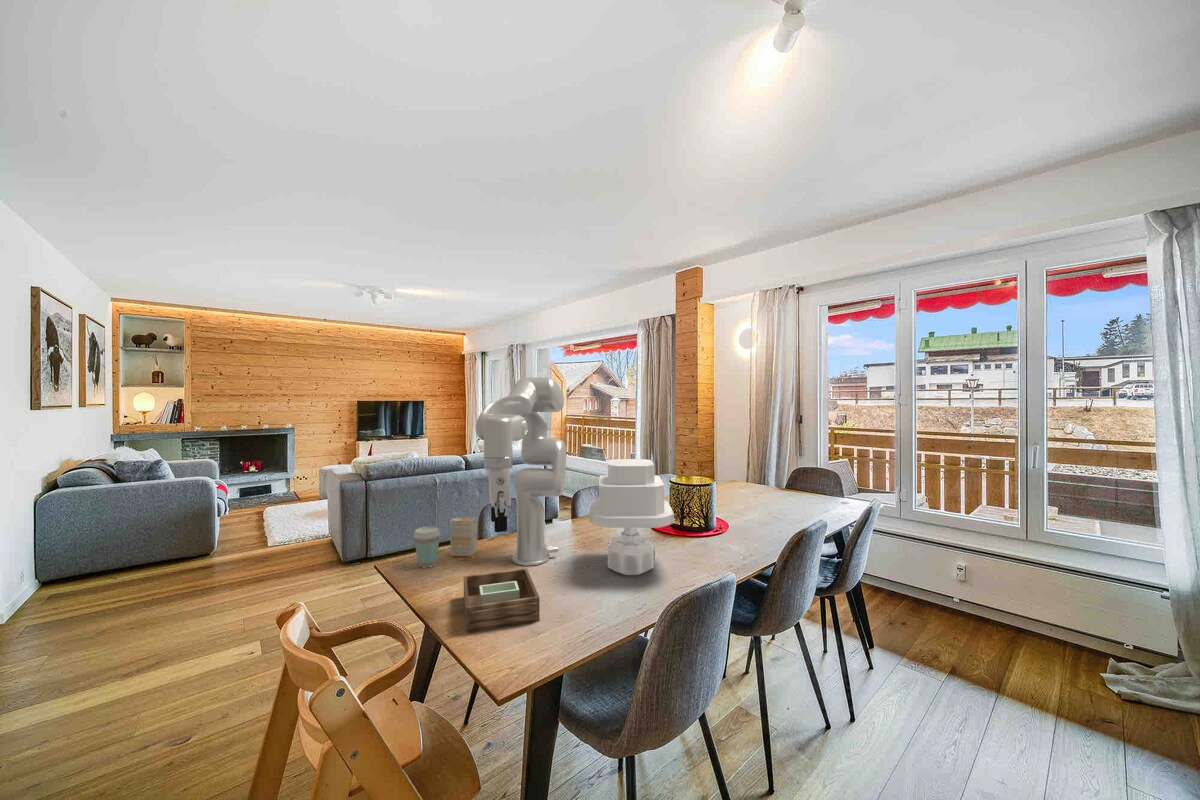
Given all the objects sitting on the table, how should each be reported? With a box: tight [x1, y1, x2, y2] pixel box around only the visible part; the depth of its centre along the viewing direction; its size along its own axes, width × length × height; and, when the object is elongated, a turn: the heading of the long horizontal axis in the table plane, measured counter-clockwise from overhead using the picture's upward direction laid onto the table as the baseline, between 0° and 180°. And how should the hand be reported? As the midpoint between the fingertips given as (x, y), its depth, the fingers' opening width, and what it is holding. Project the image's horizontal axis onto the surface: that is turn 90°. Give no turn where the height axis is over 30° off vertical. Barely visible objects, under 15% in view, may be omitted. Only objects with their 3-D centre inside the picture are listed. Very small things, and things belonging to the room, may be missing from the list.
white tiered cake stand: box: [588, 458, 675, 576], centre depth 151 cm, size 27×27×35 cm
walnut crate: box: [463, 568, 541, 633], centre depth 123 cm, size 18×21×6 cm
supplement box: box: [449, 516, 478, 558], centre depth 164 cm, size 8×5×13 cm, turn 84°
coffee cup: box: [413, 526, 441, 568], centre depth 154 cm, size 8×9×12 cm
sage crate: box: [479, 581, 519, 604], centre depth 123 cm, size 10×6×5 cm, turn 108°
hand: (498, 526), depth 123 cm, fingers open, 9 cm apart
